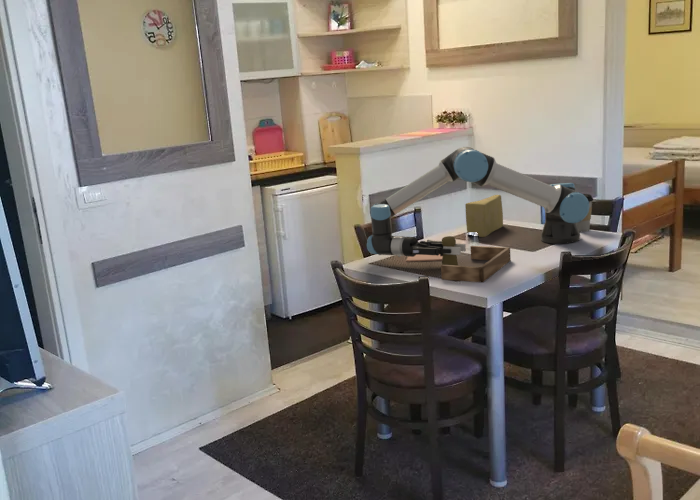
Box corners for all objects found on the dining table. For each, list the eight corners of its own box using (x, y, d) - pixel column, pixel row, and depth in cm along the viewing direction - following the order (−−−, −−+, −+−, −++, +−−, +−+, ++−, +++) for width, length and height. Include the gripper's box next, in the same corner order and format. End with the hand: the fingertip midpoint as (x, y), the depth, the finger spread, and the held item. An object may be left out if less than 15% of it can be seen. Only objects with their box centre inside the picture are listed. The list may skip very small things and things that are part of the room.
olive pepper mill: (440, 264, 255) (438, 236, 252) (456, 262, 255) (454, 234, 253) (443, 268, 249) (442, 239, 247) (460, 267, 250) (458, 237, 247)
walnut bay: (441, 279, 240) (440, 265, 239) (472, 258, 263) (471, 245, 262) (482, 282, 232) (482, 268, 231) (510, 260, 255) (510, 247, 254)
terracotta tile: (450, 249, 279) (450, 248, 278) (447, 260, 263) (447, 258, 263) (411, 251, 282) (411, 249, 282) (406, 261, 267) (406, 260, 267)
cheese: (492, 225, 315) (491, 193, 312) (511, 227, 309) (510, 194, 305) (465, 236, 300) (464, 202, 296) (485, 237, 293) (483, 203, 290)
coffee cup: (595, 232, 285) (594, 196, 281) (571, 233, 287) (570, 198, 284) (591, 227, 294) (591, 192, 290) (569, 228, 296) (568, 194, 292)
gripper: (415, 250, 268) (472, 253, 256) (395, 261, 254) (454, 265, 242) (414, 231, 266) (471, 234, 254) (394, 242, 252) (452, 245, 240)
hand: (462, 249), depth 248 cm, fingers closed on olive pepper mill, 4 cm apart
